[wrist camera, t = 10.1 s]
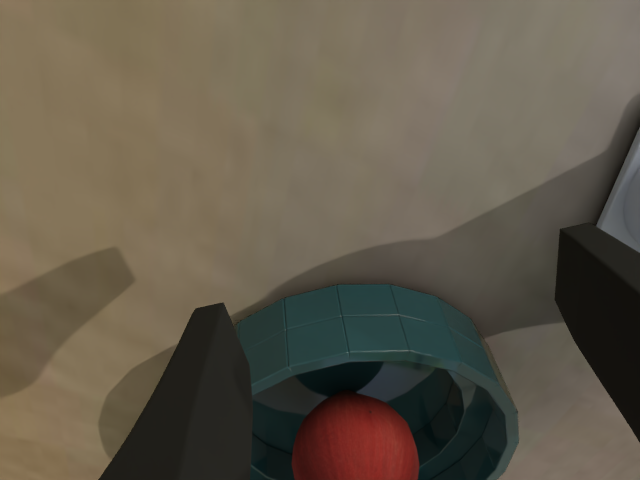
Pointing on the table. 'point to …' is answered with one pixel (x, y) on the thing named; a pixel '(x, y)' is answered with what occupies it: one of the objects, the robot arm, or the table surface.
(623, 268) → the robot arm
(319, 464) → the onion
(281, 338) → the teal bowl
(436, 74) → the table surface
